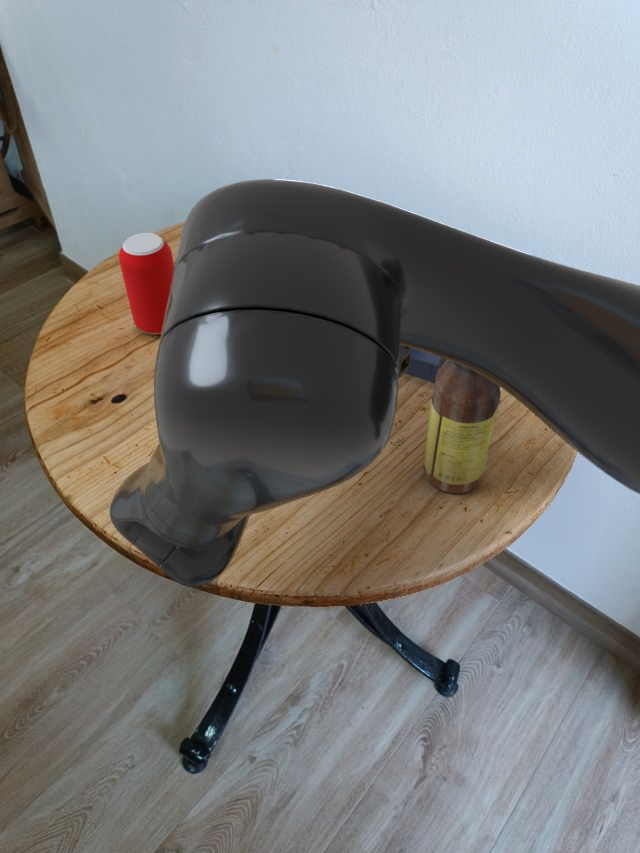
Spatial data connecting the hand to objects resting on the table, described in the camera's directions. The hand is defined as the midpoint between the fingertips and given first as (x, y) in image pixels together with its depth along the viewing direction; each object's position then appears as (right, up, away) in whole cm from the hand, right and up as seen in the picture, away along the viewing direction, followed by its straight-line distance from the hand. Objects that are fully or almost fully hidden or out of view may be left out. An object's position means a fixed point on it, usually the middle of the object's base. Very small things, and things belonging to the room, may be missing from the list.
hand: (371, 308), depth 74 cm
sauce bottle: (+8, -18, -2) cm, 20 cm away
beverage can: (-26, +1, +15) cm, 31 cm away
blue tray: (+5, -1, +14) cm, 15 cm away
